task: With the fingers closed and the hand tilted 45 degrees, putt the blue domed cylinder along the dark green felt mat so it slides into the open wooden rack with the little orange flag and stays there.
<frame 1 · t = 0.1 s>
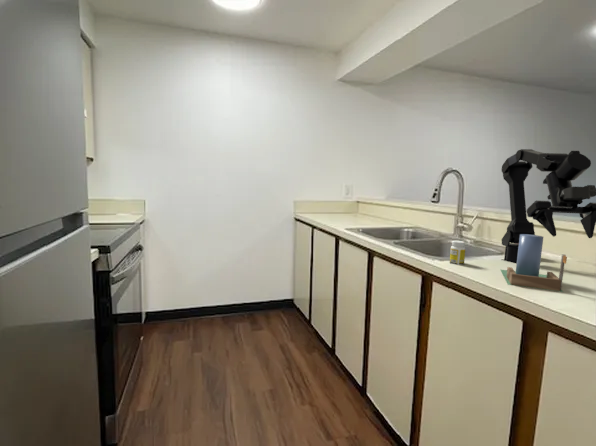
hand: (572, 236, 97), 15 cm above the counter, tool tilted 35°, fingers open, 9 cm apart
wooden rack: (530, 284, 101), resting on felt mat
cupcake: (523, 257, 139), on the counter
supplement bottle: (456, 265, 123), on the counter
blue domed cylinder: (526, 277, 107), point 1 cm above the counter, touching felt mat
felt mat: (528, 281, 104), on the counter
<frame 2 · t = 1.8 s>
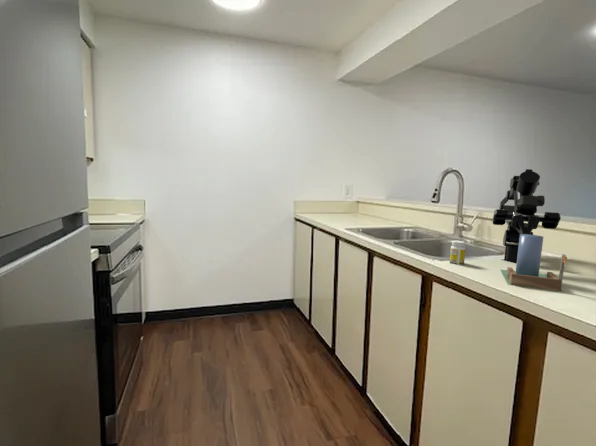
hand: (526, 238, 113), 12 cm above the counter, tool tilted 45°, fingers closed
nothing on the counter moved.
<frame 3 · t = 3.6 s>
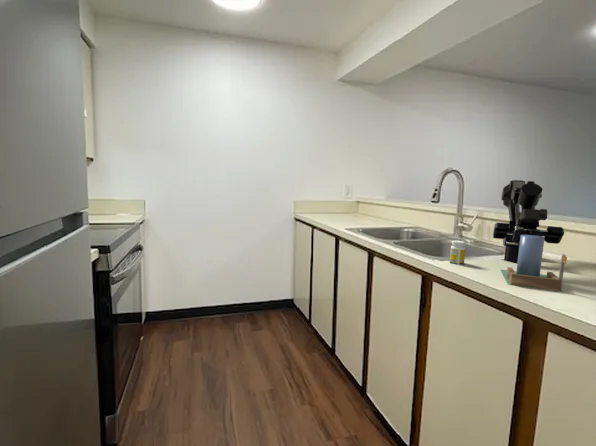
hand: (528, 253, 108), 8 cm above the counter, tool tilted 45°, fingers closed, pressing on blue domed cylinder
blue domed cylinder: (527, 278, 106), point 1 cm above the counter, touching gripper
everything else where it was.
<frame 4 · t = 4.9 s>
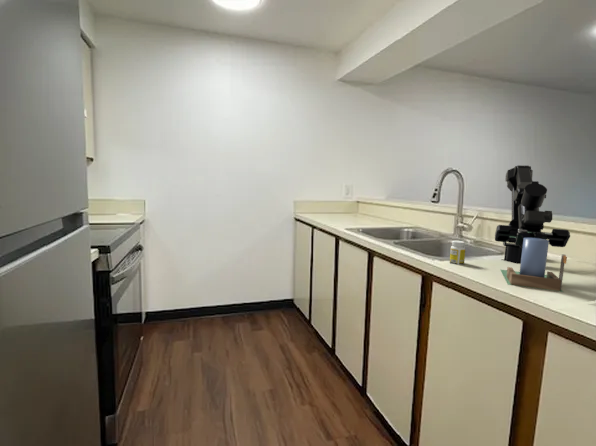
hand: (531, 258, 102), 7 cm above the counter, tool tilted 45°, fingers closed
blue domed cylinder: (530, 283, 100), point 1 cm above the counter, touching felt mat, gripper
everything else where it was.
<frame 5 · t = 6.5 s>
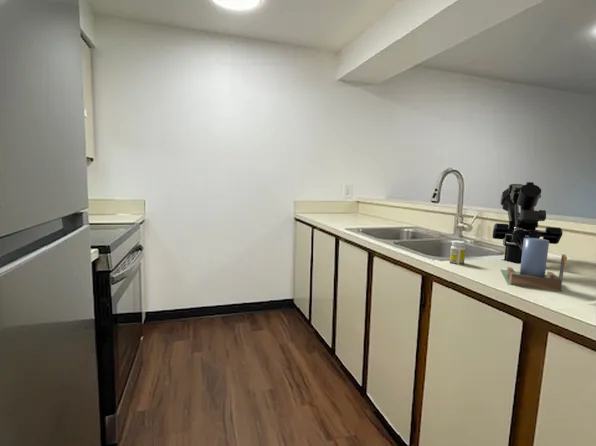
hand: (526, 254, 109), 7 cm above the counter, tool tilted 45°, fingers closed
blue domed cylinder: (531, 283, 100), point 1 cm above the counter, touching felt mat
everything else where it was.
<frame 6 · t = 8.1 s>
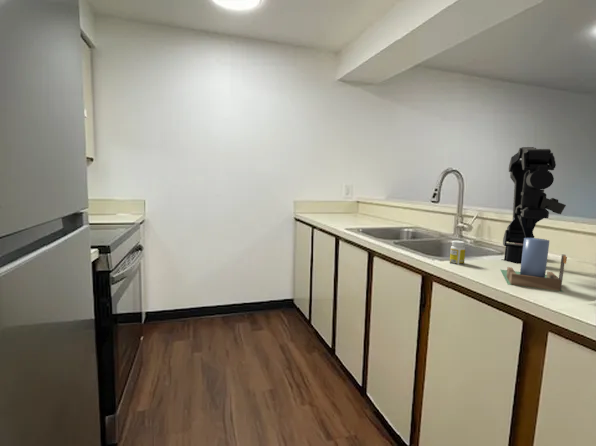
hand: (527, 238, 110), 12 cm above the counter, tool pointing down, fingers closed
nothing on the counter moved.
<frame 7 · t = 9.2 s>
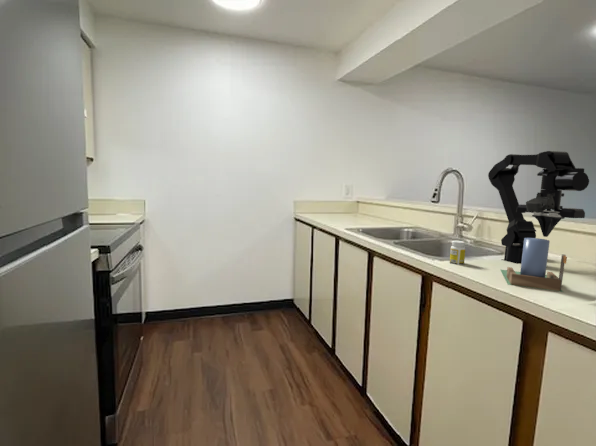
hand: (545, 236, 115), 12 cm above the counter, tool pointing down, fingers closed
nothing on the counter moved.
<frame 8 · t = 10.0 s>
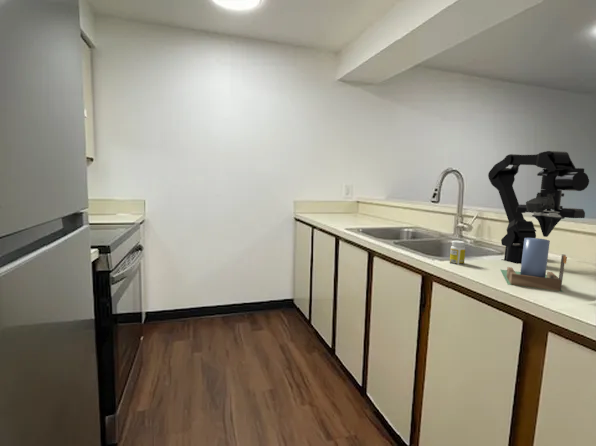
hand: (545, 236, 115), 12 cm above the counter, tool pointing down, fingers closed
nothing on the counter moved.
at the end: blue domed cylinder 1.3 cm from the wooden rack (horizontally); blue domed cylinder tilted 0°; the gripper is holding nothing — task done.
